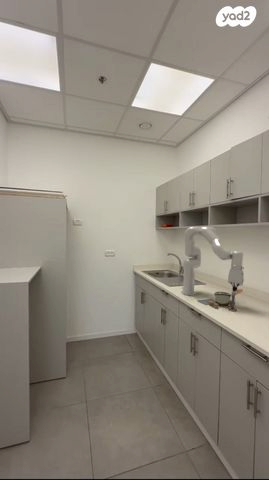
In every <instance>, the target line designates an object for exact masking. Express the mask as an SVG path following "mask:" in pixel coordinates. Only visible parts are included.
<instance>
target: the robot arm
mask: <svg viewBox="0 0 269 480" xmlns="http://www.w3.org/2000/svg"><path fill="white" fill-rule="evenodd" d="M183 236H184V255H185V256H186V257H188V258H186V259H184V261H183V263H182V265H183V266H182V267H183V286H182V287H181V292H180V293H181V294H182V295H186V296H195V295H196V294H197V293H196V291H195V279H196V278H195V276H196V274H195V272H196V271H195V270H194V269H198V268H200V267H201V263H202V254H201V253H202V251H201V249H200V247H199V246H198V245H196V244H195V243H196V242H195V239H194V237H203V238H204V239H205V240H206V241H207V242H208V243H209V244H210V246H211V249H212V251H213V253H214V254H215V255H216V256H217V257H218V258H219V259H220V261H221V260H222V261H227V260H228V261H229V260H230V261H231V265H230V268H229V271H228V276H227V282H228V283H229V284H230V285H231V286H232V292H234V291H236V290H238V287H239V286H243V285H244V281H245V279H244V278H245V277H244V269H245V267H244V266H243V260H244V258H243V257H244V253H243V251H239V250H236V251H235V250H231V249H224V248H223V247H222V245H221V244H220V241H221V238H220V237H219V236H218V234H217V230H216V228H215V227H213V226H190V227H188V228H186V229H185V232H184V235H183Z"/></svg>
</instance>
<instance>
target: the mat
mask: <svg viewBox="0 0 269 480" xmlns="http://www.w3.org/2000/svg"><path fill="white" fill-rule="evenodd" d="M196 301H197V302H198V303H200V304H202V305H205V306H209V305H208V301H212V302H214V303H215V298H206V299H197V300H196Z"/></svg>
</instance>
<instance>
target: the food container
mask: <svg viewBox="0 0 269 480" xmlns="http://www.w3.org/2000/svg"><path fill="white" fill-rule="evenodd" d="M213 296H214V300H215V303H217V304H219V307H222V308H225V306H228V307H230V305H229V303H230V300H231V298H232V296H231V293H229V292H225V291H215V292H214V294H213Z"/></svg>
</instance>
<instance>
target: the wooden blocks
mask: <svg viewBox="0 0 269 480" xmlns="http://www.w3.org/2000/svg"><path fill="white" fill-rule="evenodd" d="M235 299H236V295H235V296H231V299H230V303H229V307H228V306H225V307H224V308H225V309H227V310H228V311H230V312H237V311H238V310H237V309H236V308H235V307H236V301H235ZM207 306H208V307H211V308H213V309H219V307H220V306H219V304H217V303H214V302H212V301H208V305H207Z"/></svg>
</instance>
